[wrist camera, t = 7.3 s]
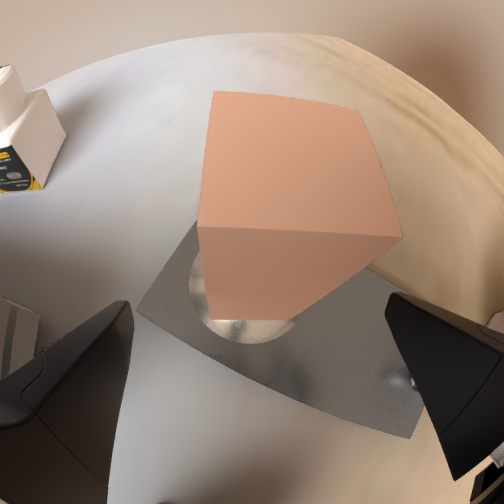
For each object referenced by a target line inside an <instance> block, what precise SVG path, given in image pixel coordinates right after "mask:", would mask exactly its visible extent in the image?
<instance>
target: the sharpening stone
mask: <svg viewBox="0 0 504 504" xmlns="http://www.w3.org/2000/svg"><path fill="white" fill-rule="evenodd" d="M40 316H41V315H39V314H37V313H35V312H34V311H32V310H30V309H29V308H26V307H24V306H22V305H19V304H17V303H15V302H13V301H11V300H8V299H6V298H4V297H2V296H0V380H1V379H3V378H4V377H6V376H7V375H9V374H11V373H12V372H14V371H15V370H17V369H18V368H20V367H22V366H23V365H24V364H26V363H27V362H29V361H30V360H32V359H33V358H34V350H35V343H36V337H37V331H38V326H39V321H40Z"/></svg>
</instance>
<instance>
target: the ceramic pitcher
mask: <svg viewBox="0 0 504 504" xmlns="http://www.w3.org/2000/svg"><path fill="white" fill-rule="evenodd" d="M485 327H488V328H490V329H493V330H495V331H498V332H500V333H503V334H504V310H503V311H501V312H496V313H495V314H494V316H493V317H492V318H491V319H490V321H489V322H488V324H487V325H486V326H485Z"/></svg>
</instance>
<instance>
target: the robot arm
mask: <svg viewBox="0 0 504 504" xmlns="http://www.w3.org/2000/svg"><path fill="white" fill-rule="evenodd" d="M384 315H385V319H386V321H387V323H388V326H389V328H390V331H391V333H392V336H393V338H394V341H395V343H396V345H397V348H398V350H399V352H400V354H401V356H402V358H403V360H404V362H405V364H406V366H407V368H408V370H409V372H410V374H411V376H412V378H413V381H414V383H415V385H416V387H417V389H418V391H419V393H420V396H421V398H422V400H423V402H424V405H425V407H426V409H427V411H428V414H429V416H430V418H431V421H432V423H433V426H434V428H435V431H436V433H437V436H438V439H439V441H440V444H441V446H442V449H443V452H444V455H445V457H446V460H447V463H448V466H449V469H450V472H451V475H452V478H453V480H454V481H456V480H458V479H459V478H461V477H462V476H463V475H465V474H466V473H467V472H469V471H470V470H471V469H473V468H474V467H475V466H476V465H478V464H479V463H480V462H481V461H483V460H484V459H485V458H486V457H487V456H489V455H490V457H491V458H492V460H493V462H491V463H490V464H489V465H488V466H487V467H486V468H485V469H484V470H482V471H481V472H480V473H479V474H478V475H476V477H475V481H474V486H473V490H472V494H471V498H470V504H504V334H503V333H500V332H498V331H495V330H493V329H490V328H488V327H485V326H483V325H481V324H478V323H475V322H474V321H471V320H469V319H466V318H464V317H462V316H459V315H457V314H455V313H452V312H450V311H447V310H445V309H443V308H440V307H438V306H435V305H433V304H431V303H428V302H426V301H423V300H421V299H418V298H416V297H414V296H411V295H409V294H406V293H404V292H400V291H399V292H393V293H391V294H390V296H389V299H388V302H387V305H386V308H385V312H384ZM133 334H134V320H133V316H132V311H131V306H130V303H129V302H128V301H115V302H114V303H112V304H111V305H109V306H108V307H106V308H105V309H103V310H102V311H100V312H99V313H97V314H96V315H94V316H93V317H91V318H90V319H88V320H87V321H86V322H84V323H83V324H81V325H80V326H78V327H77V328H75V329H74V330H72V331H71V332H70V333H68V334H67V335H65V336H64V337H62V338H61V339H60V340H58V341H57V342H55V343H54V344H53V345H51V346H50V347H48V348H47V349H46V350H44V351H43V353H40V354H39V355H37V356H36V357H34V358H33V359H32V360H30V361H29V362H27V363H26V364H24V365H23V366H22V367H20V368H18V369H17V370H15V371H14V372H12V373H11V374H9V375H7V376H6V377H4V378H3V379H1V380H0V504H107V496H108V484H109V475H110V467H111V459H112V452H113V446H114V439H115V433H116V428H117V422H118V417H119V412H120V407H121V402H122V397H123V392H124V388H125V383H126V379H127V375H128V370H129V364H130V356H131V348H132V340H133Z"/></svg>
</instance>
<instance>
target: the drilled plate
mask: <svg viewBox="0 0 504 504" xmlns="http://www.w3.org/2000/svg"><path fill="white" fill-rule="evenodd" d="M197 220H198V219H197ZM399 291H400V292H404V293H406V292H405V291H403V290H402V289H400V288H399V287H397V286H395V285H394V284H392V283H391V282H389V281H387V280H386V279H384V278H382V277H381V276H379V275H378V274H376V273H374V272H373V271H371V270H369V269H368V268H366V267H365V268H363V269H362V270H361V271H359V272H358V273H356V274H355V275H354V276H352V277H351V278H350V279H348V280H347V281H346V282H344V283H343V284H341V285H340V286H339V287H337V288H336V289H334V290H333V291H331V292H330V293H329V294H327V295H326V296H324V297H323V298H321V299H320V300H318V301H317V302H316V303H314V304H313V305H311V306H310V307H308V308H307V309H305V310H304V311H302V312H301V313H299V314H298V315H296V316H295V317H293V318H291V319H290V320H210V314H209V308H208V302H207V296H206V289H205V283H204V276H203V269H202V262H201V254H200V247H199V239H198V231H197V221H196V222H195V223H194V225H193V226H192V228H191V229H190V230H189V232H188V233H187V235H186V236H185V238H184V239H183V240H182V242H181V243H180V245H179V246H178V248H177V249H176V250H175V252H174V253H173V255H172V256H171V258H170V259H169V261H168V262H167V264H166V265H165V267H164V268H163V270H162V271H161V273H160V274H159V276H158V277H157V279H156V280H155V282H154V283H153V285H152V286H151V288H150V290H149V291H148V293H147V294H146V296H145V297H144V299H143V300H142V302H141V304H140V305H139V307H138V308H137V310H136V311H137V312H139V313H140V314H142V315H143V316H145V317H146V318H148V319H149V320H151V321H152V322H154V323H155V324H157V325H158V326H160V327H161V328H163V329H164V330H166V331H167V332H169V333H171V334H172V335H174V336H175V337H177V338H179V339H180V340H182V341H183V342H185V343H187V344H188V345H190V346H192V347H193V348H195V349H197V350H199V351H200V352H202V353H204V354H205V355H207V356H209V357H211V358H212V359H214V360H216V361H218V362H220V363H222V364H223V365H225V366H227V367H229V368H231V369H233V370H235V371H236V372H238V373H240V374H242V375H244V376H246V377H248V378H250V379H252V380H254V381H256V382H258V383H260V384H262V385H264V386H266V387H269V388H271V389H273V390H275V391H277V392H279V393H282V394H284V395H286V396H288V397H290V398H293V399H295V400H297V401H300V402H302V403H304V404H307V405H309V406H312V407H314V408H317V409H319V410H322V411H324V412H327V413H329V414H332V415H335V416H337V417H340V418H343V419H346V420H348V421H351V422H354V423H357V424H360V425H363V426H366V427H369V428H372V429H376V430H379V431H382V432H386V433H389V434H393V435H396V436H400V437H404V438H407V439H410V438H411V436H412V433H413V431H414V429H415V427H416V424H417V422H418V420H419V417H420V415H421V413H422V410H423V408H424V402H423V400H422V398H421V396H420V393H419V391H418V389H417V387H416V385H415V383H414V381H413V378H412V376H411V374H410V372H409V370H408V368H407V366H406V364H405V362H404V360H403V358H402V356H401V354H400V352H399V350H398V348H397V345H396V343H395V341H394V338H393V336H392V333H391V331H390V328H389V326H388V323H387V321H386V319H385V315H384V312H385V308H386V305H387V302H388V299H389V296H390V294H391V293H393V292H399ZM406 294H408V293H406ZM409 295H410V294H409Z"/></svg>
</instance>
